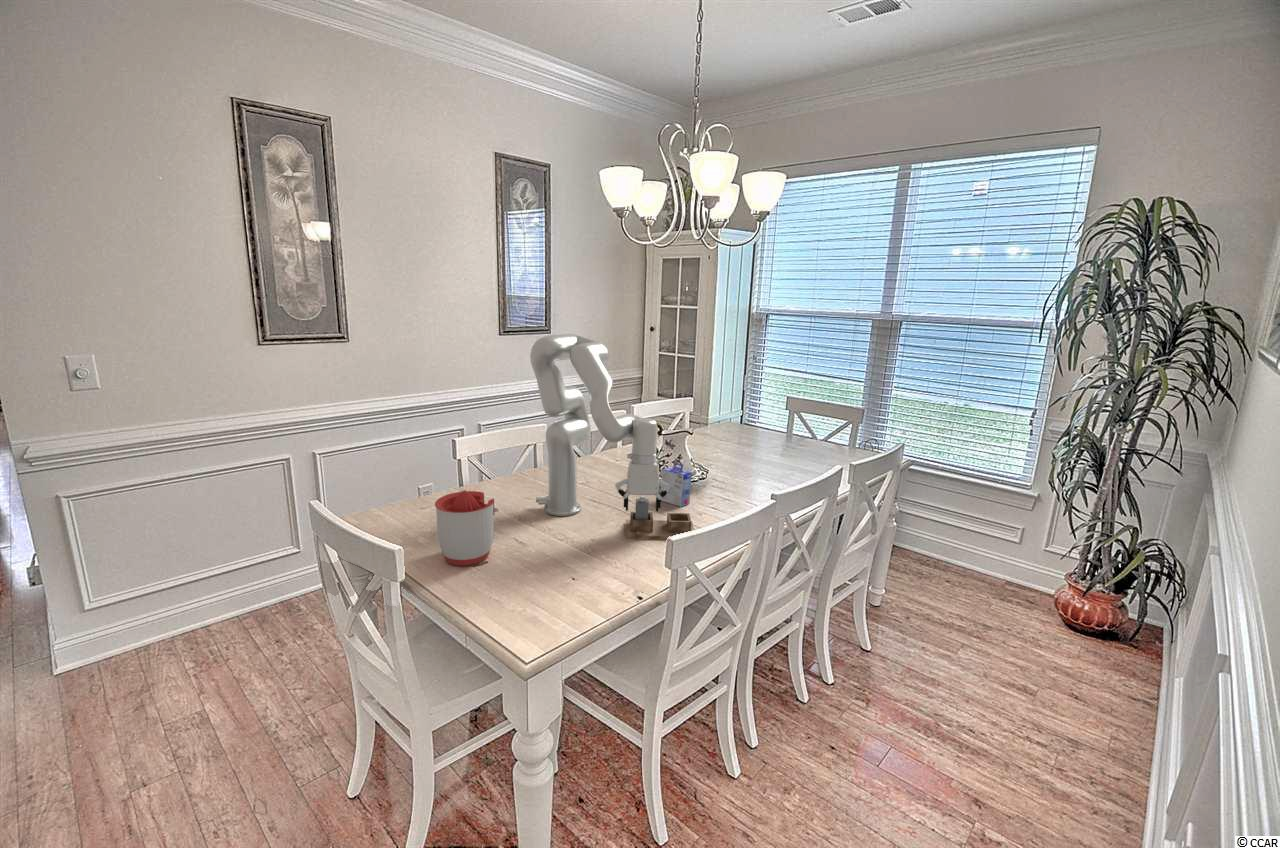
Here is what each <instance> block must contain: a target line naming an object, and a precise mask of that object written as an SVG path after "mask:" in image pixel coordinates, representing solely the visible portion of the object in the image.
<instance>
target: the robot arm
mask: <svg viewBox="0 0 1280 848" xmlns="http://www.w3.org/2000/svg"><path fill="white" fill-rule="evenodd" d="M609 355H610V354H609V352H608V349H607V347H606V346H605V345H604V344H603V343H601V342H599V341H596V340H593V339H590V338H586V337H584V336H580V335H577V334H573V333H563V334H561V333H560V334H551V335H549V334H548V335H544V336H542V337H541V338H538V339H537V340H536V341H535V342H534V343H533V345H532V346H531V349H530V354H529V358H530V359H529V360H530V364H531V366H532V371H533V372H534V373H533V374H534V376H535V378H536V379H535V380H536V382H537V388H538V392H539V397H540V401H541V404H542V408H543V411H544V412H545V414H546V416H548V417H550V418H560V417H562V416H564V419H560V420H558V421H555V422H553V423H551V424H550V425H549V426H548V427H547V429H546V431H545V437H544V438H545V443H546V447H547V454H548V457H547V458H548V461H547V462H548V496H545V497H543V496H542V497H541V496H536V497H535V502H536V503H537V504H538V505H544V507H543V510H544V512H545V513H546V514H548V515H551V516H553V517H554V516H555V517H569V516H573V515H575V514H579V512H580V511H581V509H582V506H581V504H580V503H579V502H577V487H578V486H577V480H578V479H577V472H578V471H577V469H578V467H577V464H578V462H577V461H578V460H577V456H576V453H575V451H574V447H575V446H577V445H579V444H582V443H584V442H586V441H587V440H589V438H590V436H591V431H592V429H591V428H592V427H591V422H590V418H589V414H588V413H589V412H588V409H587V404H586V401H585V397H584V394H583V393H582V392H581V390H580V389H579V388H578V387H576V386H573V385H565V383H564V379H563V375H562V372H561V371H560V369H559V366H557V364H556V362H557V361H566V360H570V363H571V364H572V366H573V368H574V369H575V372H576V373H577V376H579V378H580V380H581V382H582V384H583V385H584V387H585V389H586V391H587V392H588V395H589V407H590V415H591V418H592V420H593V422H594V424H595V426H596V428H597V429H598V430H597V431H599V433H600V434H601V436H602V437H603V438H604V439H605V440H606V441H607V442H609V443H614V444H615V443H620V442H622V441H624V440H628V439H630V438H632V440H631V441H632V443H631V444H632V445H631V446H632V447H631V452H630V453H627V455H626V457H627V459H630V461H629V464H628V466H627V467H628V468H627V474H626V475H627V476H626V478H625V479H622V480H620V481H617V482H616V483H615V488H616V490H617V492H618V494H619V495H620V496H621V497H622V499H623V508H625V511H626V512H627V511H629V497H630V495H636V496H637V495H639V496H655V511H656V513H657V512H659V510H660V509H661V507H662V506H661V504H662V503H661V502H662V501H661V499H662V498H663V497H664V496H665V495H666V494H667V492H668V491H669V489H670V485H669V484H667V483H665V482H664V481H662V479H661V478H660V469H659V468H660V466H659V462H658V461H657V444H658V423H657V420H655V419H653V418H649V417H641V416H638V415H635V414H632V413H623V414H621V415H617V416H615V414H614V412H613V411H612V409H611V407H610V403H609V394H610V391H611V389H612V388H613V386H614V380H613V378H612V377H611V376H610V374H609V372H608V371H607V370H608V369H606V367H605V366H606V365H607V363H608V362H609V358H610V356H609ZM625 485H626V490H625V491H624V490H623V488H622V487H623V486H625ZM661 486H663V487H665V488H664V490H663V491H662V492H661V491H660V487H661Z"/></svg>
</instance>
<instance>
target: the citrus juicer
mask: <svg viewBox="0 0 1280 848" xmlns="http://www.w3.org/2000/svg"><path fill="white" fill-rule="evenodd" d="M434 505H435V512H436V530H437V532H436V533H437V538H438V539H437V540H438V544H439V546H440V549H441V553H442V556H443V558H444V560H445V562H447V563H448V564H450V565H454V566H459V567H465V566H472V565H476V564H479V563H482V562H483V561H485V560H486V559H487V558H488V556H489V554H490V553H491V552H490V551H491V549H492V545H493V542H494V534H495V533H494V531H495V528H494V527H495V522H494V521H495V519H494V517H495V513H499V511H500V510H499V509H498V507H495V498H491V499H490V500H488V502H487V503H485V492H482V491H477V490H476V491H473V490H472V491H470V490H462V491H457V492H452V493H448V494H445V495H443V496H441V497H439V498H438V499H437V500H436V501H435V503H434Z"/></svg>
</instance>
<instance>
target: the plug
mask: <svg viewBox="0 0 1280 848" xmlns="http://www.w3.org/2000/svg"><path fill="white" fill-rule="evenodd" d="M649 502H650V501H649V499H648V498H646V496H639V498H635V511H634V512H635V520H648V512H649V507H650V505H649V504H650V503H649Z"/></svg>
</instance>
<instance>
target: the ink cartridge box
mask: <svg viewBox="0 0 1280 848" xmlns="http://www.w3.org/2000/svg"><path fill="white" fill-rule="evenodd" d="M678 466H679V467H678ZM683 468H684V464H683V463H679V462H675V463H674V466H668V467H665V468H663V469H661V480H662V481H664V482H665V483H667V484H669V485H670V489H669V491H668V492H667V494H666V495H665V496H664V497H663V498H662V499H661V502H665V503H669V504H671V505H675V506H678V507H684V506H687V505H690V500H691V485H692V472H691V471H688V470H684V469H683ZM664 488H665V487H663V486H661V485H660V493H661V492H662V491H663V490H664Z"/></svg>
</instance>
